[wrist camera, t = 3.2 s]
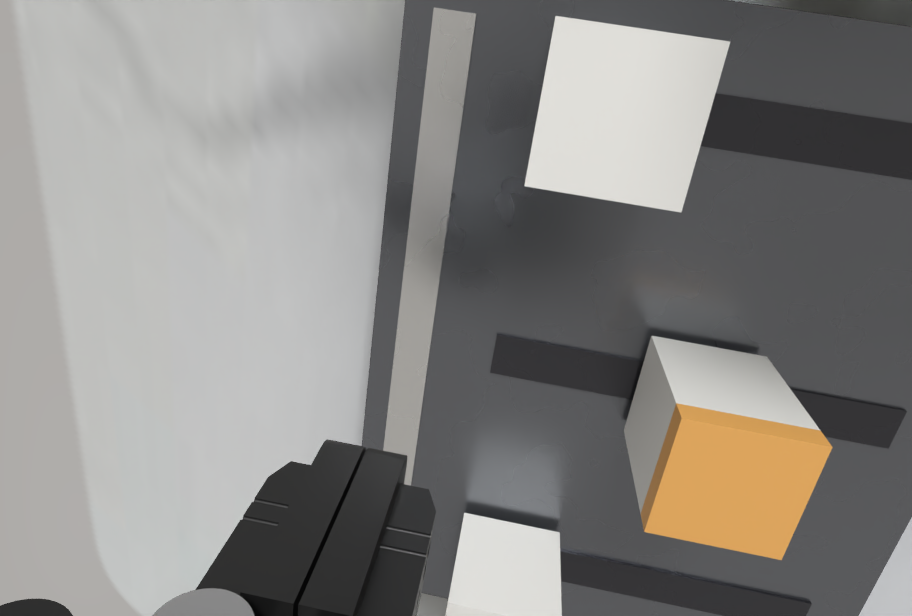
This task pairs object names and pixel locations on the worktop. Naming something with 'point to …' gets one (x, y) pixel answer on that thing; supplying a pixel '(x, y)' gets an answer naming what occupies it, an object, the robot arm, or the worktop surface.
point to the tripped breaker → (720, 448)
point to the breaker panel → (648, 297)
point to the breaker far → (505, 570)
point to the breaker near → (623, 112)
